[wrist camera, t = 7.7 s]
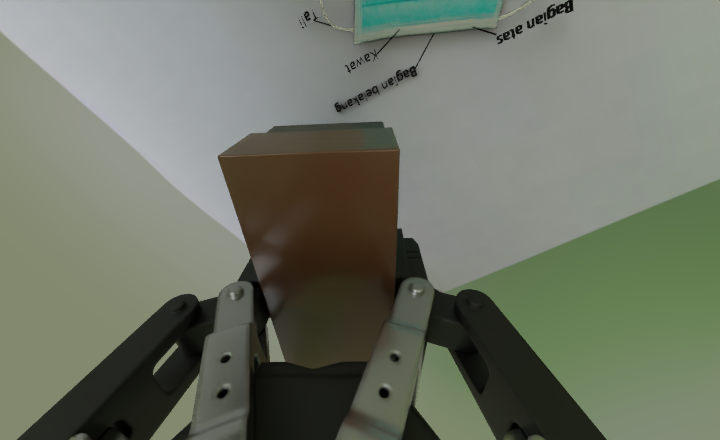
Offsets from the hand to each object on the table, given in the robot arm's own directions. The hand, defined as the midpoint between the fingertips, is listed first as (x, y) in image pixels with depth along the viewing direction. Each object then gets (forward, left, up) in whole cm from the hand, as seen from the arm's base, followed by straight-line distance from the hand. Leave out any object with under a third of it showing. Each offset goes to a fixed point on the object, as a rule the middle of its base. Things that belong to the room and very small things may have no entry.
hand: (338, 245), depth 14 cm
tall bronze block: (0, 0, 0) cm, 0 cm away
